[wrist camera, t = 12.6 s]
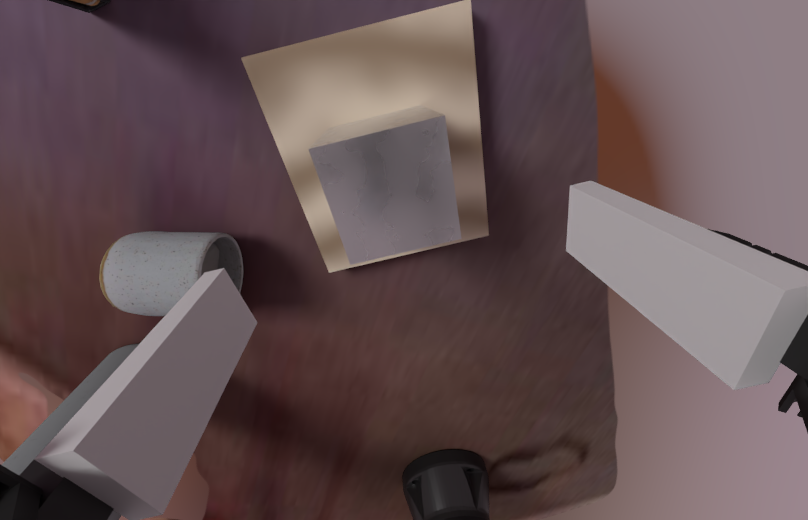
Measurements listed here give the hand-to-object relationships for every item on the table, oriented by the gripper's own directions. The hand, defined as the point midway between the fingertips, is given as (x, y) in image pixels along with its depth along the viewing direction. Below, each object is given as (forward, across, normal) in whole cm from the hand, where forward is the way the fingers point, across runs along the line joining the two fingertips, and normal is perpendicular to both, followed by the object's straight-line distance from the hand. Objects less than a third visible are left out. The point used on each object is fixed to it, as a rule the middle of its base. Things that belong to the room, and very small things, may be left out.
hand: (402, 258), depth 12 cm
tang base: (+18, 0, 0) cm, 18 cm away
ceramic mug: (+18, +20, +6) cm, 27 cm away
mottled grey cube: (+16, 0, 0) cm, 16 cm away
